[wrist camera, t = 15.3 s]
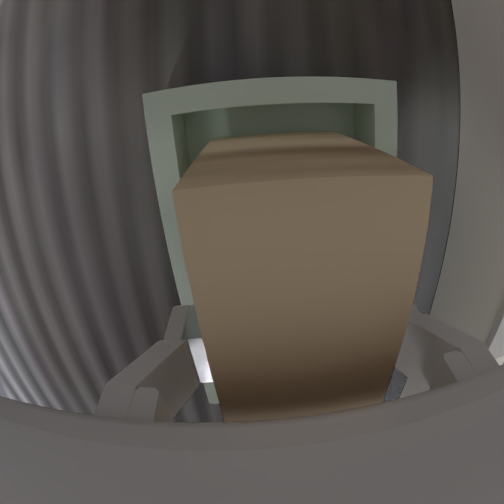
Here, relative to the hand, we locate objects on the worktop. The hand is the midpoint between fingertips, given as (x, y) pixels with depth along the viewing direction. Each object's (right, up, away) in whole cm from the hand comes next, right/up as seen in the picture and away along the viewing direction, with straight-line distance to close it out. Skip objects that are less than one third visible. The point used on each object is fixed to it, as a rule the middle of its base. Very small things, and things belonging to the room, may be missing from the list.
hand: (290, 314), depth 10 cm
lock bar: (0, +1, +2) cm, 3 cm away
